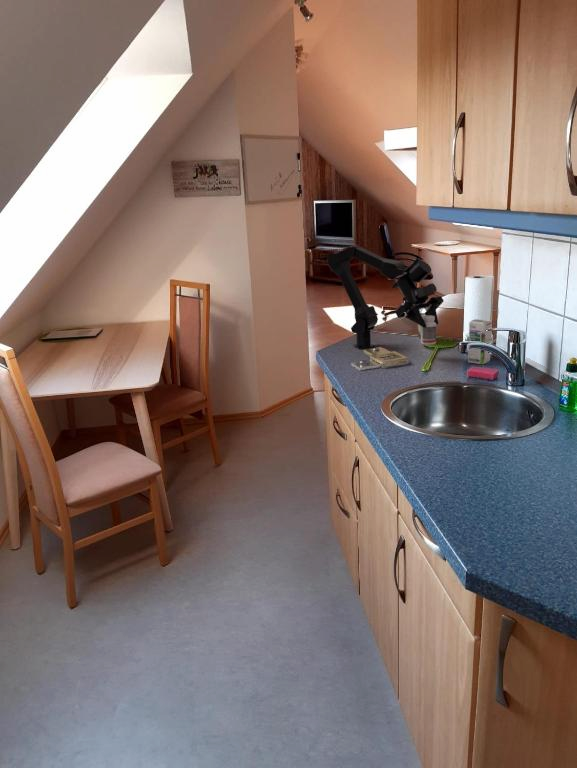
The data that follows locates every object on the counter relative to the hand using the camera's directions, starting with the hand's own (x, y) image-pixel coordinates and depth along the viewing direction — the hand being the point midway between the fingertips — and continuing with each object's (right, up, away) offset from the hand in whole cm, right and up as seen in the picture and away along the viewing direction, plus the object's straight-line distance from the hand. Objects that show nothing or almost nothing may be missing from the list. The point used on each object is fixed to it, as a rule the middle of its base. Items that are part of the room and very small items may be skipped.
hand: (431, 325), depth 214 cm
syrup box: (+16, -13, -3) cm, 21 cm away
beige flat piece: (-20, -12, +5) cm, 24 cm away
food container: (+5, -3, +29) cm, 29 cm away
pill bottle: (0, -6, +3) cm, 7 cm away
